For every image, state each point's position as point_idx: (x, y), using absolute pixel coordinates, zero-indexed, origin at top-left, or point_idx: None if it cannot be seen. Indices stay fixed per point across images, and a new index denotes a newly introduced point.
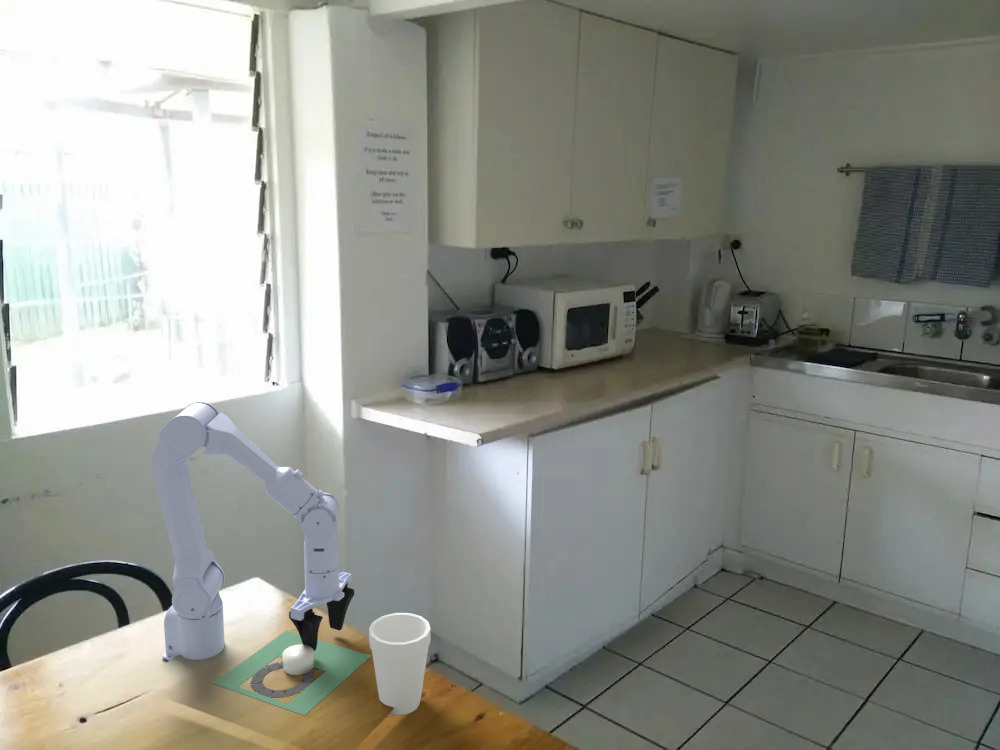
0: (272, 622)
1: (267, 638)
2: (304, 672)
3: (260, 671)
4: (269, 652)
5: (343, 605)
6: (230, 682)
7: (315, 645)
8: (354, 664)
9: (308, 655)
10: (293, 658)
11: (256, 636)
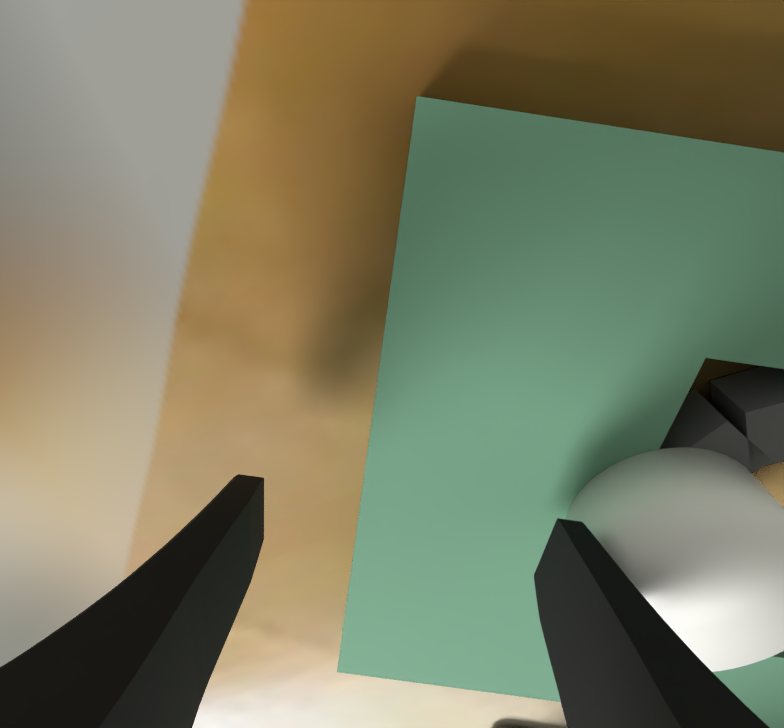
0: (263, 699)
1: (377, 677)
2: (748, 470)
3: None
4: (547, 664)
5: (133, 697)
6: None
7: (600, 552)
8: (586, 186)
9: (755, 544)
10: None
11: (379, 706)
